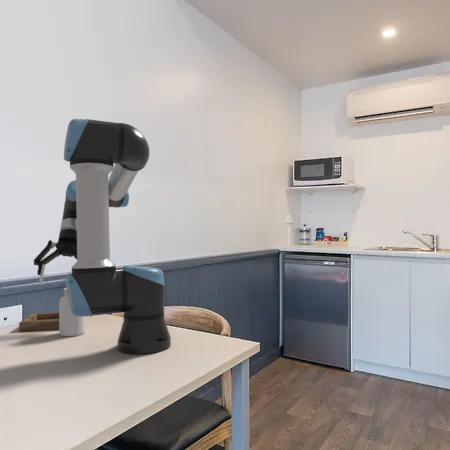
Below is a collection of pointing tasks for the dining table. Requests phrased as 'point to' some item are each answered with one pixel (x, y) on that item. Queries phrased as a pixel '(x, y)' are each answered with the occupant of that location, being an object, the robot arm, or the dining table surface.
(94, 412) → the dining table surface
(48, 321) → the tray
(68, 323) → the pill bottle
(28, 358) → the dining table surface
